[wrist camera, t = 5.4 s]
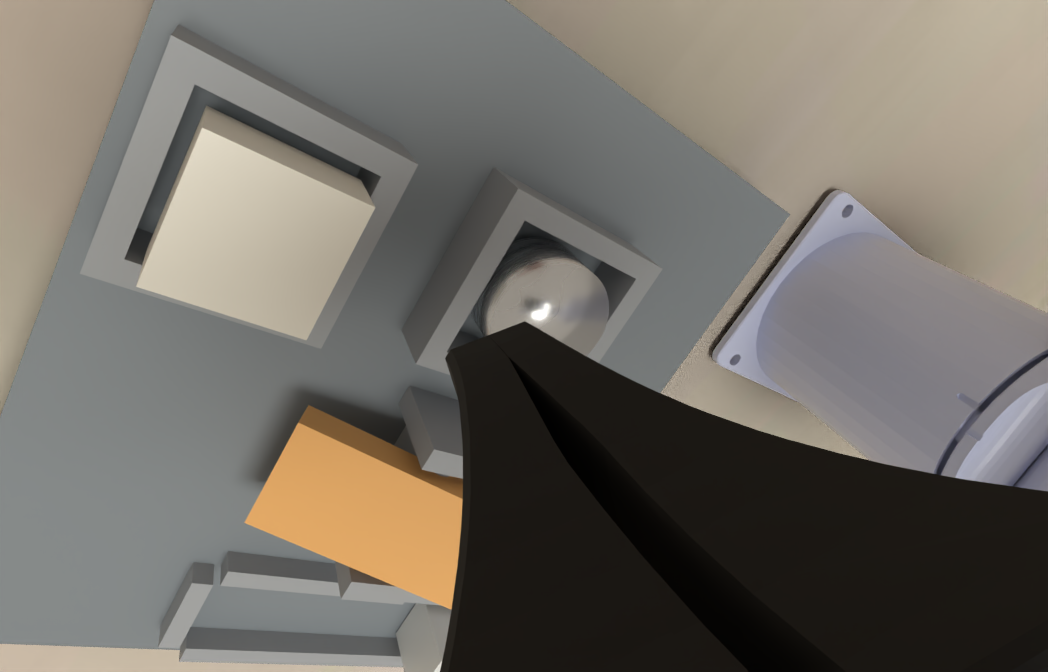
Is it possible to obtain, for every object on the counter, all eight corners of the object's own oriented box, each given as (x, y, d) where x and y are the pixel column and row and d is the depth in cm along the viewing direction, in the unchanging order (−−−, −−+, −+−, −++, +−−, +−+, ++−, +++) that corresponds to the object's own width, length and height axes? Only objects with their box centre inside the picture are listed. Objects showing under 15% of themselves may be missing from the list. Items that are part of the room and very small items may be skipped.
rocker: (559, 511, 19) (564, 541, 18) (496, 598, 20) (497, 633, 19) (314, 394, 17) (300, 417, 16) (259, 496, 18) (242, 527, 17)
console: (751, 195, 23) (860, 249, 19) (452, 620, 29) (487, 729, 25) (231, -189, 13) (229, -246, 9) (-56, 581, 19) (-135, 752, 15)
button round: (601, 265, 19) (631, 292, 17) (541, 357, 20) (565, 390, 18) (510, 217, 17) (535, 243, 15) (448, 322, 18) (467, 356, 16)
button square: (360, 179, 14) (375, 207, 12) (299, 301, 15) (306, 340, 13) (206, 104, 12) (202, 127, 11) (146, 248, 13) (136, 286, 12)
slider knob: (471, 598, 25) (493, 662, 23) (444, 636, 26) (463, 702, 23) (422, 593, 24) (441, 660, 22) (395, 633, 24) (411, 702, 22)
